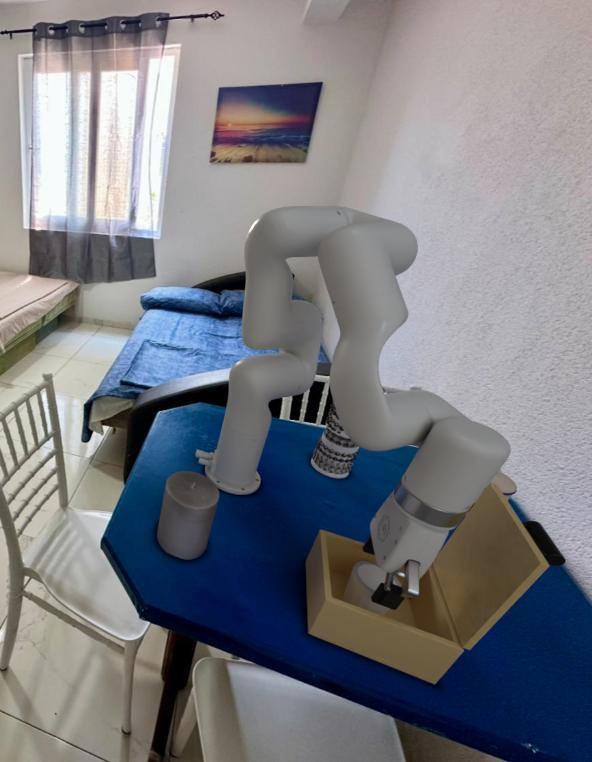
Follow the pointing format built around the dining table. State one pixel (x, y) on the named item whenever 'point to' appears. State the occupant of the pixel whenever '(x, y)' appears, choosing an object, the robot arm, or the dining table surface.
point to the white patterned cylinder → (334, 448)
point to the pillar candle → (187, 514)
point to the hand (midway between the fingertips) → (377, 577)
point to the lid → (491, 564)
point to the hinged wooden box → (373, 631)
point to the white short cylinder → (366, 586)
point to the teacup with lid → (502, 485)
